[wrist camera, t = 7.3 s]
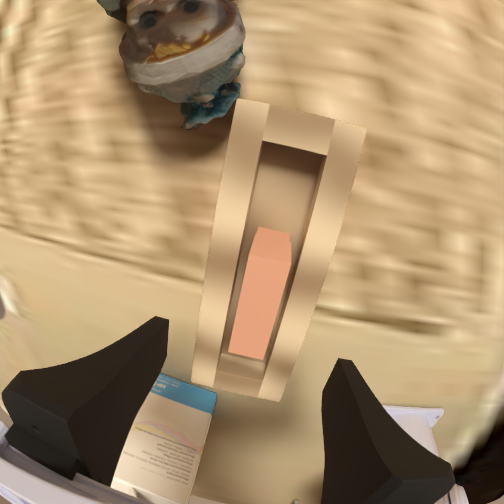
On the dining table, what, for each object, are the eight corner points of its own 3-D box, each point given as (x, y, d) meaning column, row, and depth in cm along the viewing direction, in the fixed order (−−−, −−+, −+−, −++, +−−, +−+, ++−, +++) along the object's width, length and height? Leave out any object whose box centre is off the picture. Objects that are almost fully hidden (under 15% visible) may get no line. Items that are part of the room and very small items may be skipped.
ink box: (132, 359, 27) (64, 475, 14) (219, 393, 27) (183, 526, 15) (125, 409, 30) (76, 507, 18) (198, 438, 30) (166, 544, 18)
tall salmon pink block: (269, 308, 22) (263, 360, 17) (241, 302, 22) (227, 352, 17) (291, 228, 20) (291, 263, 15) (259, 220, 20) (248, 254, 15)
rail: (280, 380, 25) (279, 401, 23) (198, 361, 26) (190, 381, 23) (357, 128, 18) (366, 128, 15) (243, 101, 18) (237, 98, 16)
